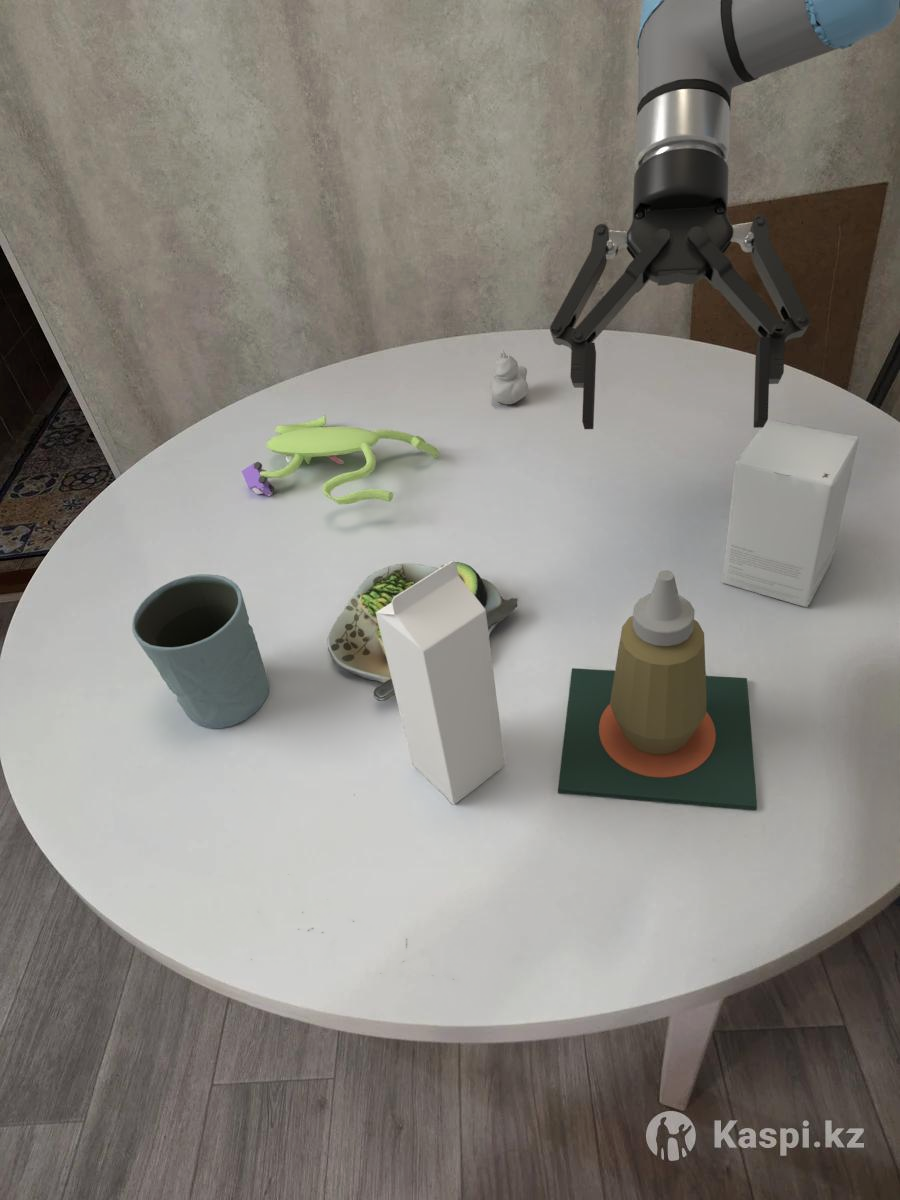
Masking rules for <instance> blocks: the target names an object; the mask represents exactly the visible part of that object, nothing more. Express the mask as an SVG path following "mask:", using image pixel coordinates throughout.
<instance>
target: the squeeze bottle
mask: <svg viewBox="0 0 900 1200" xmlns="http://www.w3.org/2000/svg"><path fill="white" fill-rule="evenodd" d="M695 610H696V609H695V608H694V607H693V605H692V603H691V602H690V601H689V600H688V599H686V598H685V597H684V596H682V595H679V591H678V586H677V582H676V576H675V574H674V572H673V571H671V570H669V569H668V570H667V569H664V570H661V571H659V572H658V574H657V576H656V579H655V582H654V585H653V588H652V590H651V593H648V594H646V595H644V596H642V597H640V598H639V599H638V600H637V601H636V603H635V604H634V605H633V611H632V615H631V616H629V617H628V619H626V621H625V622H624V623H623V625H622V627H621V631H620V637H619V645H618V652H617V655H616V663H615V669H614V671H615V675H614V681H613V687H612V694H611V701H610V706H611V708H612V711H613V713H614V716H615V718H616V720H617V722H618V724H619V726H620V728H621V730H622V732H623V734H624V736H625V738H626V740H627V741H629V742H630V743H631V744H632V745H633V746H634V747H635V748H636V749H639V750H641V751H643V752H645V753H648V754H657V755H663V754H668V753H673V752H675V751H677V750H679V749H680V748H682V747H683V746H685V744H686V743H687V741H688V740H689V739H690V737H691V736H692V735H693V733H694V732H695V730H696V729H697V728H698V726H699V725H700V723H701V722H702V720H703V718H704V717H705V715H706V676H707V675H706V648H705V647H706V645H705V632H704V629H703V628H702V627H701V625H700V623H699V621H698V620H696V619H695Z"/></svg>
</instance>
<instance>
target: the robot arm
mask: <svg viewBox="0 0 900 1200" xmlns="http://www.w3.org/2000/svg"><path fill="white" fill-rule="evenodd" d="M899 10H900V0H642V2H641V13H640V22H639V30H638V33H637V41H636V48H637V56H638V62H637V63H638V69H637V70H638V73H637V108H636V117H635V134H634V135H635V136H634V137H635V139H634V163H633V164H634V169H635V173H634V176H633V194H632V195H633V199H632V200H633V201H632V221H631V223H630V224H631V225H630V226H629V228H628V230H611V229H609V227H608V225H607V224H604V223H599V224H597V225H596V226H595V227H594V229H593V234H592V241H591V246H590V247H591V248H590V251H589V253H588V255H587V257H586V259H585V261H584V263H583V265H582V266H581V269H580V270H579V271H578V274H577V276H576V277H575V279H574V281H573V283H572V285H571V287H570V289H569V290H568V293H567V295H566V296H565V298H564V299H563V302H562V304H561V306H560V307H559V309H558V311H557V313H556V315H555V317H554V319H553V320H552V322H551V324H550V327H549V332H550V335H551V339H552V341H553V343H554V344H555V345H557V346H565V347H567V348H569V349H570V351H571V353H570V376H569V377H570V380H571V384H572V386H573V388H574V389H582V391H583V392H582V393H583V394H582V418H581V419H582V421H581V422H582V426H583V429H584V430H594V427H595V425H594V421H595V395H596V369H597V368H596V367H597V351H596V350H597V349H596V344H595V342H594V341H595V340H596V339H597V338H598V337H599V336H600V334H601V333H602V332H603V331H604V330H606V328H607V327H608V326H609V324H610V323H611V322H612V321H613V320H614V319H615V317H617V315H618V314H619V313H620V312H621V310H623V309H624V308H625V306H626V305H627V304H628V303H629V302H630V300H631V299H632V298H633V297H634V296H635V295H636V294H637V293H639V292H641V290H642V289H643V288H644V287H645V286H646V284H648V282H649V281H651V282H653V283H656V284H657V286H669V285H672V284H676V283H679V284H684V285H695V284H697V282H699V281H701V280H703V279H705V280H706V281H707V282H708V283H709V284H710V285H711V286H712V288H713V289H715V290H718V292H719V293H721V294H722V297H724V298H725V299H726V300H727V301H728V302H729V303H730V305H731V306H732V307H733V308H734V309H735V310H736V311H737V312H738V314H739V315H740V316H741V317H742V319H744V321H746V322H747V324H748V325H749V326H750V327H751V328H752V329H753V330H754V331H755V333H756V334H757V335H759V339H758V341H757V344H756V347H755V360H754V361H755V363H754V365H755V367H754V397H753V398H754V399H753V428H759V429H761V428H762V427H764V425H765V423H766V422H767V420H768V419H769V400H770V399H769V397H770V396H769V395H770V394H769V393H770V385H778V384H779V383H780V381H781V379H782V377H783V375H784V373H785V372H784V371H785V369H784V368H785V343H786V342H788V341H789V340H792V339H799V338H802V337H803V336H804V335H805V332H806V331H807V329H808V327H809V325H810V323H811V316H810V314H809V312H808V310H807V308H806V306H805V304H804V303H803V302H804V301H803V300H802V298H801V297H800V295H799V293H798V291H797V289H796V287H795V285H794V283H793V281H792V280H791V278H790V275H789V274H788V272H787V270H786V267H785V266H784V264H783V262H782V260H781V258H780V256H779V255H778V252H777V251H776V249H775V247H774V245H773V243H772V241H771V232H770V221H769V218H768V217H767V216H766V214H761V213H760V214H757V215H756V216H754V217H753V219H752V221H749V222H743V223H737V224H732V223H731V221H730V219H729V216H728V205H729V204H728V203H729V202H728V201H729V200H728V199H729V198H728V197H729V166H728V164H727V163H728V162H729V158H730V140H731V139H730V138H731V137H730V135H731V101H732V91H733V89H734V88H736V87H739V86H741V85H742V86H743V85H744V84H746V83H750V82H753V81H756V80H758V79H759V78H761V77H764V76H767V75H770V74H772V73H775V72H778V71H780V70H783V69H787V68H789V67H792V66H795V65H797V64H799V63H802V62H805V61H808V60H811V59H814V58H816V57H819V56H822V55H825V54H827V53H830V52H833V51H835V50H839V49H840V50H845V49H848V48H851V47H852V46H853V45H854V44H855V43H857V42H859V41H861V40H863V39H865V38H867V37H870V36H872V35H874V34H877V33H879V32H882V31H884V30H886V29H887V28H888V27H889V26H890V25H892V24H893V22H894V21H895V19H896V17H897V16H898V14H899ZM732 243H736V244H738V245H739V246H740V248H741V250H742V252H744V253H750V257H751V261H752V263H753V265H754V268H755V270H756V272H757V273H758V275H759V278H760V280H761V281H762V283H763V286H765V289H766V292H767V293H768V295H769V297H770V299H771V301H772V302H773V305H774V306H775V309H776V311H777V312H778V314H779V316H780V317H779V316H778V315H777V314H776V313H775V312H774V311H773V310H772V308H770V306H769V305H768V304H767V303H766V302H765V301H764V300H763V299H762V297H761V296H759V294H757V292H756V291H755V290H754V289H753V288H752V286H750V285H749V283H748V282H747V281H746V280H745V279H744V277H742V276H741V274H740V273H739V272H738V271H737V270H736V269H735V268H734V266H733V264H732V262H731V260H730V259H729V258H728V257H727V256H726V255H725V252H726V251H727V250H728V249H729V247H730V245H731V244H732ZM621 249H626V250H627V252H628V253H629V255H630V256H631V257H632V260H631V261H630V263H629V264H628V265H627V267H626V268H625V270H624V272H623V274H621V276H620V277H619V278H618V279H617V280H616V282H615V283H613V285H612V286H611V287H610V288H609V290H608V291H607V292H606V293H605V294H604V295H603V296H602V298H601V299H600V300H599V301H598V302H597V303H596V304H595V306H594V307H593V308H592V309H591V310H590V311H589V312H588V313H587V315H585V317H584V318H583V319H582V320H581V322H580V323H579V324H578V325H576V324H577V322H578V320H579V318H580V317H581V315H582V313H583V311H584V309H585V307H586V305H587V303H588V302H589V299H590V298H591V296H592V294H593V293H594V290H595V288H596V286H597V284H598V283H599V281H600V279H601V278H602V275H603V274H604V271H605V269H606V266H607V262H608V260H613V259H615V258H616V256H617V255H618V253H619V251H620V250H621ZM575 326H576V327H575Z"/></svg>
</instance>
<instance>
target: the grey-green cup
mask: <svg viewBox="0 0 900 1200" xmlns="http://www.w3.org/2000/svg"><path fill="white" fill-rule="evenodd" d="M131 623H132V624H131V631H132V634H133V637H134V639H135V640H136V641H137V642H138V644H139V646H140V647H141V649H142V650H143V651H144V653H145V655H146V657H148V658H149V660H150V661H151V662H152V664H153V665H154V667H155V668H156V670H157V672H158V673H159V675H160V677H161V679H162V680H163V681H164V683H165V684H166V686H167V687H168V689H169V690H170V691H171V692H172V694H174V695H175V696H176V700H177V703H178V704H179V706H180V707H181V708H182V710H183V711H184V713H185V714H186V716H187V717H188V718H189V719H190V720H191V721H192V722H193V723H194V724H196V725H197V726H200V727H203V728H207V729H213V730H214V729H226V728H228V727H229V728H230V727H233V726H235V725H236V724H240V723H242V722H244V721H246V720H247V719H249V718H250V717H251V716H253V715H254V714H255V713H256V712H257V711H258V710H260V708H261V707H263V705H264V704H265V702H266V700H267V698H268V695H269V691H270V690H269V687H270V684H269V683H270V682H269V677H268V674H267V671H266V667H265V665H264V662H263V658H262V656H261V651H260V649H259V644H258V640H257V639H256V634H255V632H254V628H253V627H252V626H251V624H250V617H249V614H248V610H247V606H246V603H245V599H244V596H243V592H242V590H241V588H240V587H239V585H238V584H237V583H236V582H235V581H233V580H232V579H230V578H227V577H225V576H223V575H218V574H208V573H207V574H206V573H205V574H204V573H201V574H192V575H187V576H183V577H180V578H177V579H174V580H172V581H170V582H167V583H166V584H164V585H162V586H160V587H158V588H156V589H155V590H154V591H152V592H151V593H150V594H149V595H148V596H147V597H145V599H144V600H142V602H141V603H140V605H139V606H138V607H137V609H136V611H135V612H134V614H133V617H132V622H131Z"/></svg>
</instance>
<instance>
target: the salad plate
mask: <svg viewBox="0 0 900 1200" xmlns="http://www.w3.org/2000/svg"><path fill="white" fill-rule="evenodd" d="M455 562H456V564H457V570H458V575H459V577H460V578H461V579H462V580H463V582H464V583H465V584H466V585H467V587H468V588H469V589H470V590H471V592H472V593H473V594H474V596H475V597H476V598H477V599H478V601H479V602H480V603H481V604H482V606H483V607H484V608H485V610H486V617H487V625H488V633H489V636H490V634H491V633H492V632H493V630H494V629H495V628H496V627H497V626H498V625H499V624H500V623H501V622H503V621H505V619H506V618H507V617H509V616H510V615H511V614H513V612H514V611H515V610H516V609H518V597H510V598H508V599H505V598H504V597H503V595H501V593H500V591H499V589H498V588H497V587H496V585H494V584H493V583H492V582H491V581H489V580H487V579H486V578H482V577H481V576H480V575H479V573H478V572H477V571H476V570H475V569H474V568H473V567H472V566H471V565H469V564H466V563H464V562H460V561H455ZM448 563H449V562H447V563H446V564H448ZM446 564H443V565H441V566H440V568H441V567H443V566H445V565H446ZM438 569H439V567H433V566H427V565H424V564H417V563H397V564H392V565H388V566H387V567H383V568H382V569H379V570H377V571H374V572H373V573H371V574H370V575H369V576H367V577H366V578H365V579H364V580H363V581H362V582H361V584H360V585H359V587H358V588H357V589H356V591H355V592H354V594H353V595H352V597H351V598H350V599H349V601H348V603H347V604H346V606H345V607H344V609H343V610H342V612H341V613H340V614H339V616H338V617H337V618H336V620H335V622H334V623H333V625H332V627H331V629H330V630H329V632H328V633H327V639H326V641H327V652H329V655H330V658H331V659H332V661H333V663H334V664H335V665H336V666H337V667H339V668H341V669H343V670H345V671H347V672H349V673H352V674H354V675H356V676H358V677H360V678H363V679H366V680H371V681H375V682H380V683H381V684H380V685H378V686H376V687H375V688H374V689H373V691H372V694H373V697H374V699H375V700H377V701H378V702H385V701H388V700H390V699H392V698H393V697H396V695H395V690H394V686H393V682H392V678H391V674H390V670H389V666H388V662H387V658H386V653H385V649H384V645H383V641H382V637H381V633H380V629H379V625H378V621H377V616H376V612H377V611H379V610H380V609H382V608H383V607H385V606H387V605H388V604H390V603H391V602H392V599H393V598H394V597H395V596H396V595H398V594H399V593H401V592H403V591H404V590H406V589H407V588H409V587H411V586H412V585H414V584H416V583H417V582H419V581H420V580H422V579H424V578H425V577H427V576H428V575H430V574H432V573H433V572H435V571H436V570H438Z"/></svg>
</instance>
